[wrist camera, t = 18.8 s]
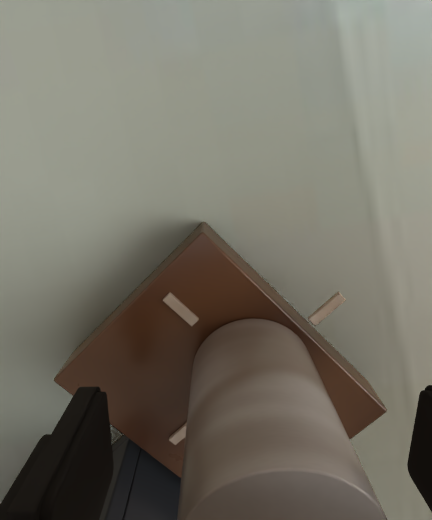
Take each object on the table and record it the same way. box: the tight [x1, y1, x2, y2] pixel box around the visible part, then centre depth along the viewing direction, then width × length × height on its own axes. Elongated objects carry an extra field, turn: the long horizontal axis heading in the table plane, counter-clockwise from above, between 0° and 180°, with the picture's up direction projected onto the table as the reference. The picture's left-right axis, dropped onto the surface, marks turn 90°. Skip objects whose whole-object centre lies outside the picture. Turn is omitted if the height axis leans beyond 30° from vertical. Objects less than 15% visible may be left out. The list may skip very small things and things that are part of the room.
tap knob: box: [177, 319, 387, 520], centre depth 10 cm, size 4×4×7 cm
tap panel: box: [54, 222, 387, 478], centre depth 15 cm, size 10×10×2 cm
